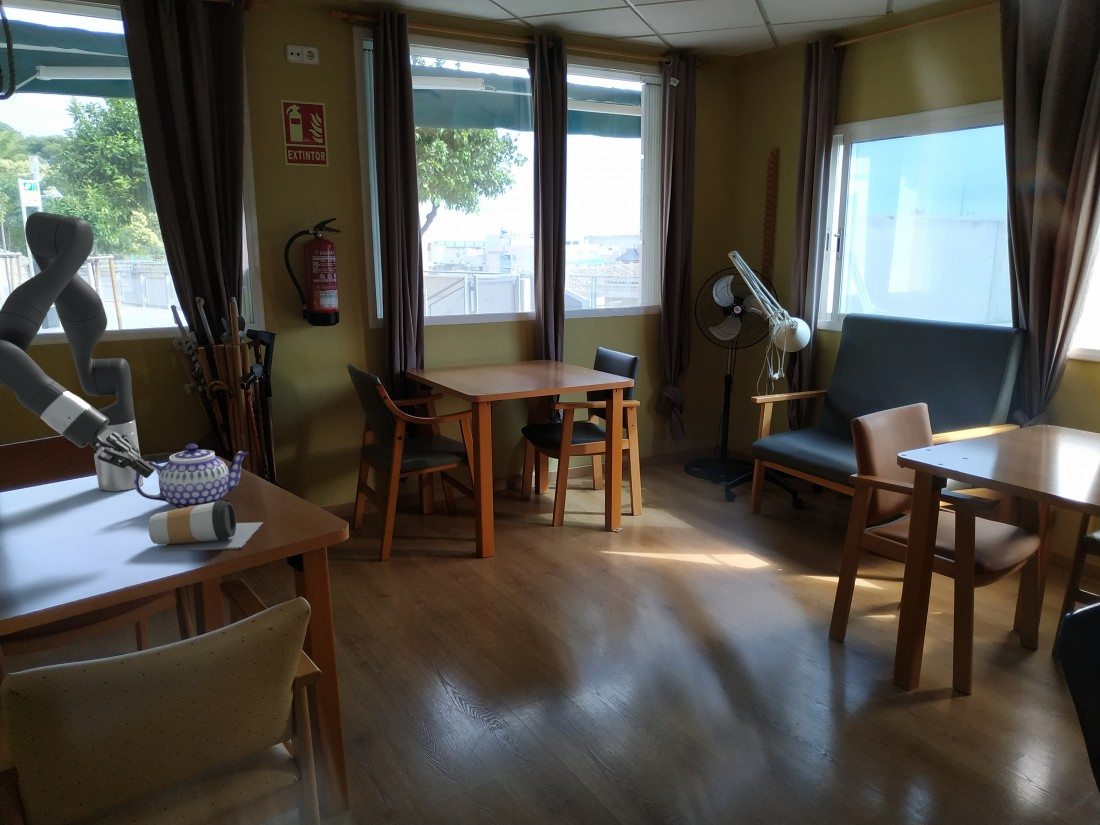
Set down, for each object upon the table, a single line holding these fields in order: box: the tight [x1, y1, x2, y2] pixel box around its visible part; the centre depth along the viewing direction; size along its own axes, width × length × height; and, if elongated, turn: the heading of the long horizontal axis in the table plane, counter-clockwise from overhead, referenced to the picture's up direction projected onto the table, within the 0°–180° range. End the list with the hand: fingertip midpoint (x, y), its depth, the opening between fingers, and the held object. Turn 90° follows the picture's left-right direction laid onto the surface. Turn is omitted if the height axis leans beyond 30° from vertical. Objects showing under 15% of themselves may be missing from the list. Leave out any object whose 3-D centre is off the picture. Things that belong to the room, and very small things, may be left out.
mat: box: [160, 521, 264, 552], centre depth 158 cm, size 16×14×1 cm
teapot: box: [134, 443, 249, 510], centre depth 177 cm, size 25×15×15 cm, turn 121°
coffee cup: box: [148, 499, 237, 546], centre depth 153 cm, size 8×8×15 cm
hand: (151, 473), depth 152 cm, fingers closed
